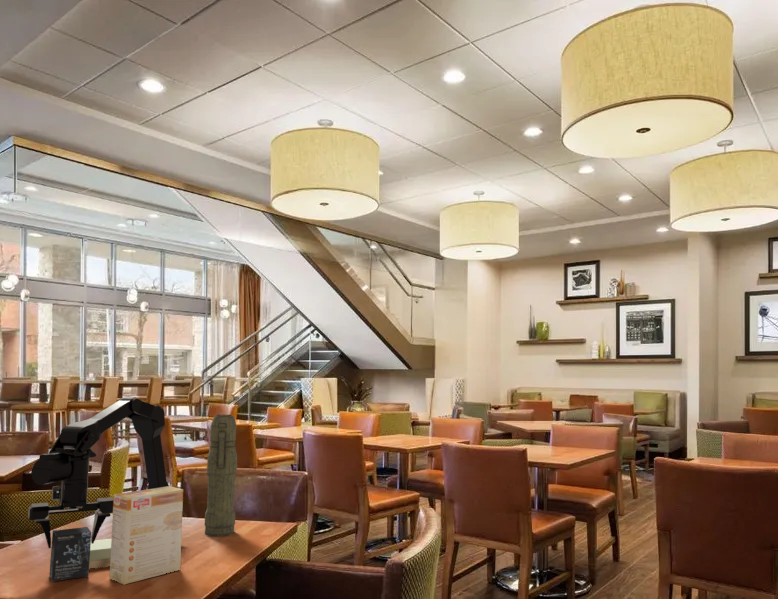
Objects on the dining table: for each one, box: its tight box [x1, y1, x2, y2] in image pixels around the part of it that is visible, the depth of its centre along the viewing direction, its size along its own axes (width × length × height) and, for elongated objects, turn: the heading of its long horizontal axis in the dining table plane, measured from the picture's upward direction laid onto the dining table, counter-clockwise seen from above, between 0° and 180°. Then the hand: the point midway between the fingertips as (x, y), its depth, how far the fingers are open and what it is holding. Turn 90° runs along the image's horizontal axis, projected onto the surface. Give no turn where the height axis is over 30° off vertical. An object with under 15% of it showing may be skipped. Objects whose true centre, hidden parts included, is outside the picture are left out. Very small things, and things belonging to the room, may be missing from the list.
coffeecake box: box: [109, 485, 184, 586], centre depth 160 cm, size 15×7×20 cm, turn 141°
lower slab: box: [89, 559, 111, 570], centre depth 170 cm, size 12×12×2 cm
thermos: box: [204, 414, 238, 537], centre depth 201 cm, size 9×12×35 cm
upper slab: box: [89, 538, 112, 561], centre depth 170 cm, size 10×10×2 cm
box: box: [49, 526, 92, 582], centre depth 157 cm, size 8×6×11 cm
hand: (71, 545), depth 157 cm, fingers open, 9 cm apart
